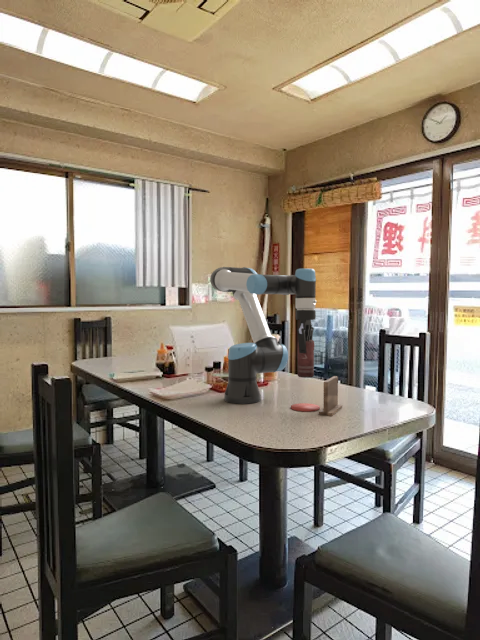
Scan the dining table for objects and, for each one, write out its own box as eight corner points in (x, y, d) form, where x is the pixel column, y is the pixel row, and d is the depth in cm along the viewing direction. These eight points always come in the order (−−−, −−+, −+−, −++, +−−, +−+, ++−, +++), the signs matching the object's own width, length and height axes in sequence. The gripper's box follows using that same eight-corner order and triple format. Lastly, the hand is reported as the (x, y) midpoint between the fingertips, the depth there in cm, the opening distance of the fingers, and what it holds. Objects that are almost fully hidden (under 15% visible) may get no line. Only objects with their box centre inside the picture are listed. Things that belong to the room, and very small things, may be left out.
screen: (318, 414, 161) (318, 381, 161) (329, 406, 174) (329, 375, 173) (332, 416, 159) (332, 382, 159) (342, 407, 171) (342, 376, 171)
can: (314, 377, 166) (314, 340, 166) (297, 377, 167) (297, 340, 167) (314, 376, 172) (314, 339, 172) (298, 375, 173) (298, 339, 173)
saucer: (286, 409, 169) (286, 408, 169) (296, 403, 178) (296, 402, 178) (314, 412, 164) (314, 411, 164) (323, 406, 173) (323, 405, 173)
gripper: (309, 309, 162) (309, 374, 163) (320, 309, 174) (320, 369, 174) (290, 309, 165) (290, 372, 166) (301, 309, 177) (301, 368, 178)
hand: (305, 371), depth 170 cm, fingers closed
